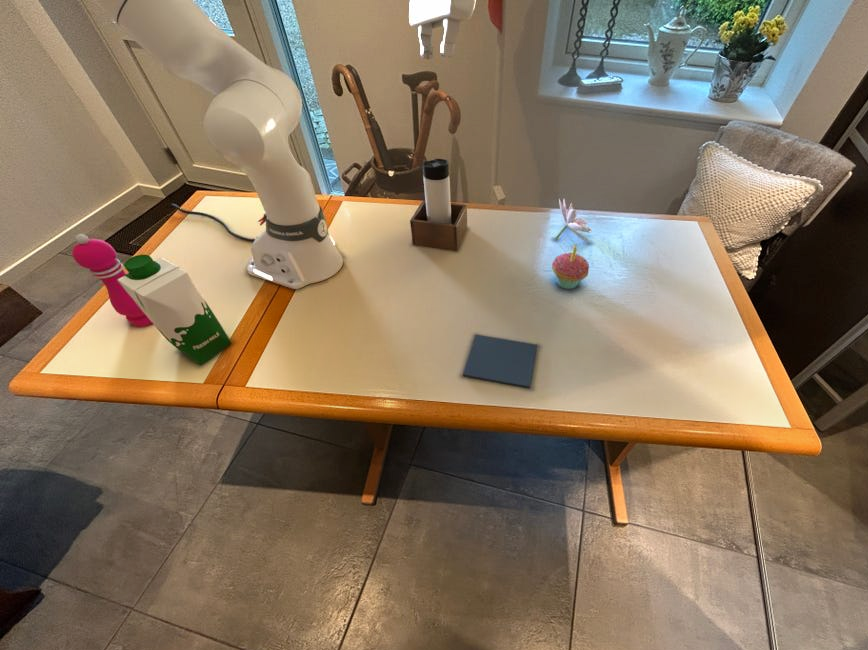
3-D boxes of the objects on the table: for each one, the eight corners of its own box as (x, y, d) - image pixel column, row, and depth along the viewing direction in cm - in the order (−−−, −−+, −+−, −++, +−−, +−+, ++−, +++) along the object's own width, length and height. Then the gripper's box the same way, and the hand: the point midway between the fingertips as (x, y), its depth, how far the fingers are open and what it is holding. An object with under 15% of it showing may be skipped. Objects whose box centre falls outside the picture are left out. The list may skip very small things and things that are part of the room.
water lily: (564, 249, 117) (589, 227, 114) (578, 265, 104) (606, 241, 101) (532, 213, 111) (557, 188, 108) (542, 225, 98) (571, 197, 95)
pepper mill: (174, 310, 88) (111, 228, 73) (146, 332, 84) (74, 249, 68) (148, 302, 89) (82, 220, 74) (119, 323, 85) (43, 241, 70)
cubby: (412, 244, 106) (409, 220, 100) (425, 222, 113) (423, 199, 107) (457, 251, 104) (456, 226, 99) (467, 228, 111) (466, 204, 106)
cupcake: (584, 296, 93) (596, 252, 84) (547, 291, 94) (555, 247, 85) (585, 274, 98) (596, 230, 89) (550, 269, 99) (558, 225, 90)
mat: (462, 376, 77) (462, 374, 77) (475, 336, 84) (475, 334, 84) (529, 388, 75) (530, 386, 75) (536, 346, 82) (537, 344, 82)
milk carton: (211, 326, 85) (155, 244, 70) (239, 342, 82) (186, 261, 67) (172, 351, 80) (102, 270, 65) (200, 370, 77) (133, 289, 62)
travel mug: (434, 245, 105) (428, 168, 90) (425, 233, 109) (417, 157, 94) (456, 239, 107) (453, 163, 92) (446, 227, 111) (442, 152, 96)
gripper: (401, -43, 69) (400, 56, 76) (448, -77, 54) (441, 51, 61) (435, -33, 72) (431, 62, 79) (489, -62, 57) (478, 58, 64)
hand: (436, 57), depth 70 cm, fingers open, 8 cm apart
